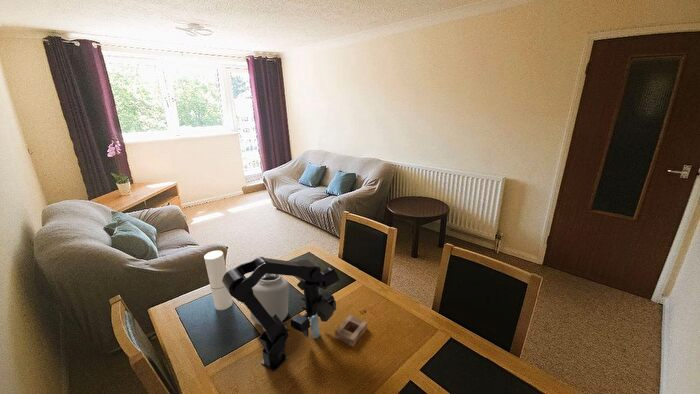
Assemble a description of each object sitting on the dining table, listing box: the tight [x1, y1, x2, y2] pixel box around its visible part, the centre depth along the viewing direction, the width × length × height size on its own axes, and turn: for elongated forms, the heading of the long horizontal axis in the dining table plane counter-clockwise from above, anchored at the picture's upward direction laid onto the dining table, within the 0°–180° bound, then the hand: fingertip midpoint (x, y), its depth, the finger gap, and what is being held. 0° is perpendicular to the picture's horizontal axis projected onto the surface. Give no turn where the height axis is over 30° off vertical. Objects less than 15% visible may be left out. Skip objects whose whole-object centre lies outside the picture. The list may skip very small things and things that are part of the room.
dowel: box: [309, 314, 321, 339], centre depth 105 cm, size 3×3×9 cm
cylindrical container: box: [203, 250, 233, 311], centre depth 121 cm, size 7×7×25 cm
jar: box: [249, 274, 289, 326], centre depth 114 cm, size 19×15×25 cm
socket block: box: [334, 314, 368, 347], centre depth 107 cm, size 10×8×3 cm
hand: (315, 328), depth 106 cm, fingers open, 9 cm apart
